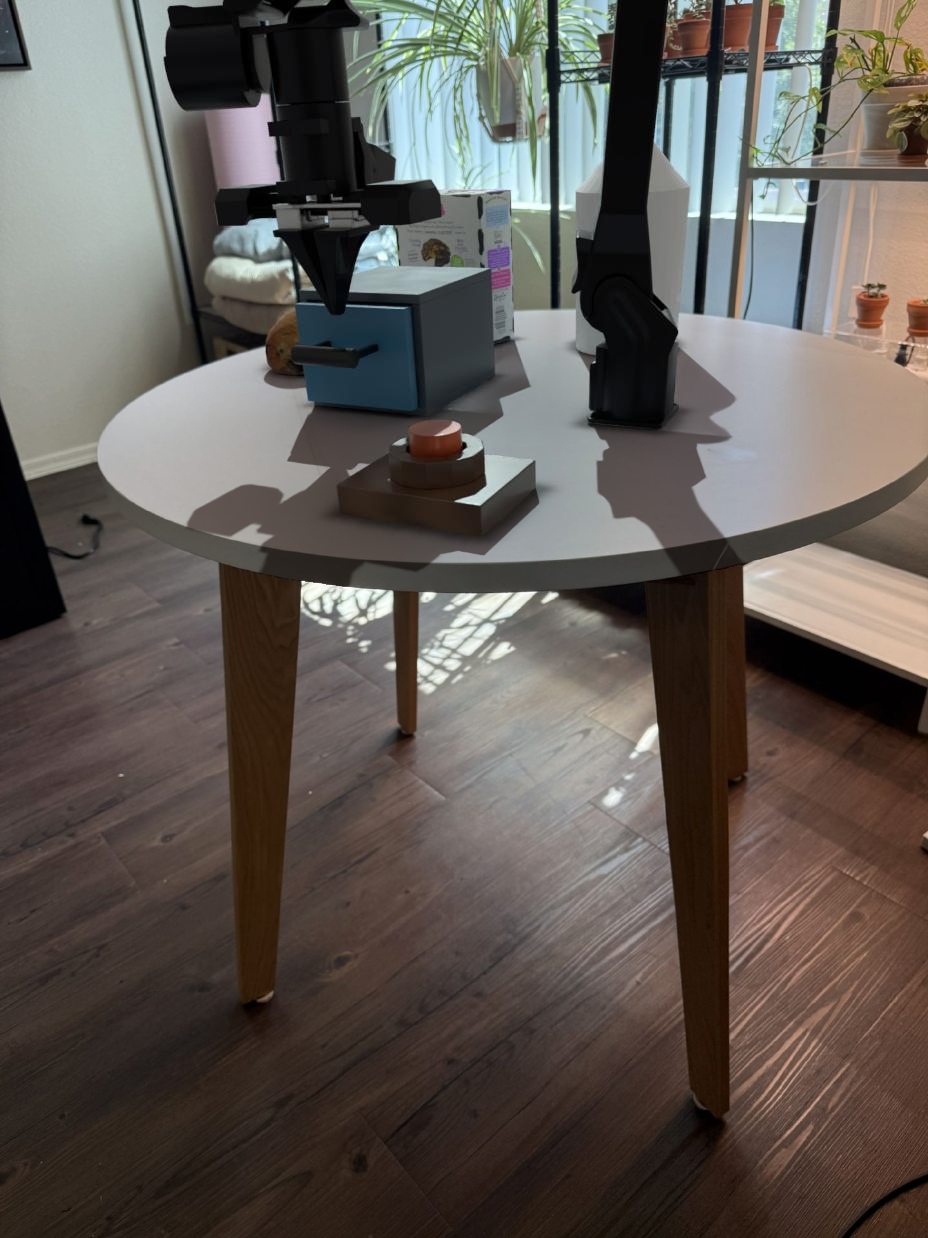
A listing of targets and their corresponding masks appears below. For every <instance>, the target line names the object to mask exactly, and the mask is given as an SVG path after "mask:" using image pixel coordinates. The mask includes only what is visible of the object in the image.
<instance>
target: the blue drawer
mask: <svg viewBox="0 0 928 1238" xmlns="http://www.w3.org/2000/svg"><path fill="white" fill-rule="evenodd" d="M294 310H295V311H296V318H297V325H298V332H299V340H300V345H295V346H293V348H292V350H291V359H292V361H293V362H294V363H295V364H301V365H303V369H304V375H303V376H304V382H305V391H306V397H307V401H308V402H313V403H314V402H324V403H334V404H344V405H354V406H364V407H374V408H384V409H394V410H404V411H413V410H415V409H417V408H418V400H419V392H418V379H417V366H416V352H415V339H414V326H413V312H412V304H403V303H379V302H355V301H347V304H346V309H345V312H344V314H342V315H339V316H336V315H330V313H329V312H328V310H327V308H326V306H325V305H324V303H323V301H322V300H321V301H318V302H317V303H316V302H301V301H300V302H297V303H295V304H294Z"/></svg>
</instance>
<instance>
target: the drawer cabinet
mask: <svg viewBox="0 0 928 1238" xmlns="http://www.w3.org/2000/svg"><path fill="white" fill-rule="evenodd" d="M298 295H299V299H300V302H316V303H317V302H318V301H321V298H320V296H319V295H318V293H317V291H316V290H315V288H314V286H313V285H312V286H309V287H305V288H302V289H299V290H298ZM347 301H355V302H379V303H403V304H412V312H413V326H414V339H415V352H416V366H417V379H418V392H419V400H418V408H417V409H415V410H413V411H404V410H394V409H384V408H374V407H364V406H354V405H344V404H334V403H324V402H314V401H313V404H314V405H315V406H321V407H330V408H331V407H332V408H341V409H342V408H344V409H345V408H346V409H355V410H363V411H364V410H365V411H374V412H382V413H383V412H384V413H392V414H393V413H395V414H403V415H404V414H405V415H412V416H423V417H429V416H431V415H432V414H434V413H435V412H437V411H439V410H441V409H442V408H444V407H447V406H448V405H450V404H451V403H453V402H454V401H457V400H458V399H460V398H461V397H463V396H464V395H466V394H468V393H469V392H471V391H473V390H475V389H476V388H478V387H479V386H481V385H483V384H485V383H487V382H488V381H490V380H491V379H493V378H495V377H496V370H495V369H496V368H495V367H496V366H495V344H494V335H493V303H492V271H491V268H463V267H417V266H399V265H380V266H376V267H373V268H370V269H366V270H363V271H359V272H356V273H353V277H352V281H351V286H350V290H349V295H348V300H347Z"/></svg>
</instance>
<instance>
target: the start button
mask: <svg viewBox="0 0 928 1238" xmlns="http://www.w3.org/2000/svg"><path fill="white" fill-rule="evenodd" d="M407 430H408V431H407V432H408V437H409V445H410V454H411V455H413V456H419V457H428V458H433V457H446V456H450V455H453V454H457V453H460V452H461V451H462V434H463V432H462V425H461V423H459V422H457V421H454V420H449V419H430V420H423V421H419V422H416V423H413V424H411V425H410V426H409V427H408V429H407Z"/></svg>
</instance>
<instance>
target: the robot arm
mask: <svg viewBox="0 0 928 1238" xmlns="http://www.w3.org/2000/svg"><path fill="white" fill-rule="evenodd" d="M303 1H305V2H313V1H314V0H222V4H218V5H216V4H215V5H204V6H190V5H187V4H174V5H168V7H167V9H166V11H167V17H168V21H169V22H168V23H169V26H168V28H167V30H166V34H165V40H164V50H165V51H164V52H165V56H163V58H162V59H163V65H164V70H165V75H166V78H167V82H168V86H169V89H170V91H171V93H172V95H173V98H174V99H175V101H176V103H177V105H178V106H179V107H180V108H181V109H182V110H183V111H184V112H186V113H187V112H201V111H202V112H203V111H219V110H237V109H249V108H251V109H252V108H257V107H258V106H259V105H260V102H261V99H262V94H265V93H267V94H268V91H269V90H270V88H271V84H272V89H273V97H274V105H275V112H276V121H267V130H268V137H269V138H275V137H279V141H280V151H281V157H282V164H283V170H284V178H285V179H284V180H279V181H275V183H253V184H245V185H244V184H243V185H237V186H236V185H235V186H229V187H221V188H218V191H217V193H216V196H215V199H214V200H213V207H214V214H215V219H216V224H217V226H218V227H244V226H248V225H249V222H251V221H254V220H260V219H261V220H262V219H276V223H277V229H273V230H272V235H273V237H274V238H280V239H281V240H282V241H283V242H284V244H285V245H286V247H287V248H288V250H289V251H290V253H291V254H292V255H293V257H294V258H295V260H296V261H297V262H298V264H299V265H300V267H301V269H302V270H303V271H304V273H305V275H306V277H307V278H308V279H309V281H310V282H311V284H312V286H314V288H315V290H316V291H317V293H318V295H319V296H320V298H321V300H322V301H323V303H324V305H325V306H326V308H327V310H328V312H329V313H330V315H336V316H339V315H342V314H344V312H345V309H346V304H347V300H348V295H349V290H350V286H351V281H352V277H353V274H354V273H355V267H356V263H357V260H358V257H359V254H360V251H361V248H362V246H363V244H364V242H365V241H366V240H367V238H368V237H369V235H370V233H372V232H376V231H379V230H380V228H381V226H395V225H410V224H415V223H419V222H423V221H427V220H431V219H436V218H440V217H442V214H441V197H440V193H439V191H438V190H439V188H437V185H436V184H435V183H434V181H433V180H432V178H431V179H429V178H428V179H427V178H426V179H395V178H396V167H397V165H396V164H397V159H396V157H395V156H393V155H391V154H390V153H388V152H387V151H386V150H384V149H382V148H381V147H379V146H378V145H375V144H373V143H370V142H368V141H367V140H366V136H365V130H364V124H363V123H362V117H361V116H352V111H351V109H352V108H351V102H350V101H351V100H350V99H351V98H350V90H349V79H348V70H347V60H346V58H347V57H346V50H345V49H346V48H345V39H344V38H345V37H344V33H349V32H350V33H351V32H365V31H367V30H369V28H370V20H369V19H368V18H367V17H365V16H364V15H363V14H362V13H360V11H358V9H357V8H356V7H355V6H354V4H353V2H351V0H329V1H328V2H327V3H326V4H318V5H304V6H299V5H300V4H301V3H302V2H303ZM669 4H670V0H615V12H614V22H613V23H614V25H613V38H612V49H611V62H610V75H609V85H608V96H607V97H608V100H607V111H606V121H605V122H606V124H605V133H604V134H605V136H604V148H603V150H604V151H603V157H604V159H603V158H602V159H603V172H602V184H601V196H600V204H599V208H598V212H597V216H596V219H595V223H594V227H593V231H592V232H591V231H586V230H582V229H577V230H576V229H575V252H576V251H577V262H578V263H577V269H576V268H575V271H574V273H573V275H572V277H571V294H573V295H576V293H577V292H579V291H580V309H581V312H582V314H583V317H584V318H585V319H586V321H587V322H588V323H589V324H590V325H591V326H592V327H593V328H594V329H596V330H598V331H600V332H601V333H603V335H604V338H605V341H603V342H602V343H600V344H599V345H597V346H596V355H595V360H593V361H592V362H591V363H590V364H589V375H588V376H589V378H588V380H589V383H588V409H589V410H590V411H591V413H590V414H589V415H587V421H586V422H587V423H589V424H595V425H597V424H598V425H604V426H605V425H607V426H617V427H627V428H635V429H636V428H638V429H649V430H661V429H662V428H663V427H664V426H666V424H667V423H668V422H669V421H670V420H671V419H672V418H673V417H674V416H675V414H677V412H679V410H680V404H679V403H677V402H675V398H676V397H675V395H676V381H677V369H678V368H677V367H678V356H679V355H678V353H679V342H678V341H677V342H675V340H676V338H677V339H678V335H679V329H678V328H679V327H678V328H677V326H676V324H675V322H674V319H673V317H672V315H671V312H670V310H669V308H668V307H667V306H666V305H665V304H664V303H663V302H662V301H661V300H660V299H659V298H658V297H657V296H656V295H655V294H654V293H653V284H652V266H651V250H650V238H649V227H648V214H647V202H648V193H649V183H650V174H651V164H652V155H653V145H654V142H655V137H656V136H655V135H656V125H657V116H658V107H659V106H658V105H659V104H658V98H659V99H660V90H659V89H660V88H661V80H662V79H661V78H662V68H663V60H664V59H663V58H664V49H665V40H666V32H667V31H666V30H667V22H668V11H669ZM286 18H287V19H286ZM285 19H286V22H283V23H276V24H267V25H266V24H265V25H259V21H261V22H270V21H282V20H285ZM271 82H272V83H271ZM310 196H315V197H316V199H307V197H310ZM336 198H341V199H336ZM326 217H327V221H326ZM590 411H589V412H590Z"/></svg>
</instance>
